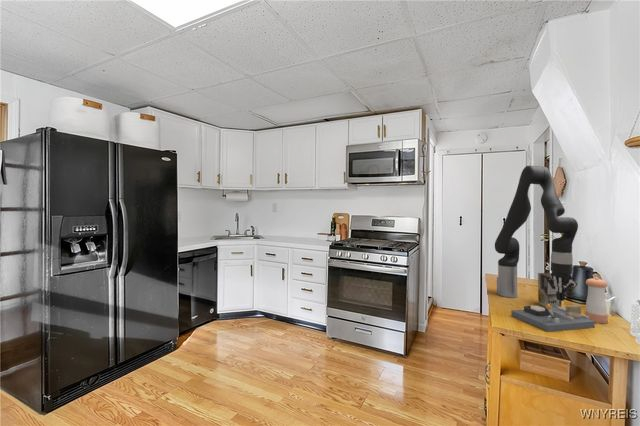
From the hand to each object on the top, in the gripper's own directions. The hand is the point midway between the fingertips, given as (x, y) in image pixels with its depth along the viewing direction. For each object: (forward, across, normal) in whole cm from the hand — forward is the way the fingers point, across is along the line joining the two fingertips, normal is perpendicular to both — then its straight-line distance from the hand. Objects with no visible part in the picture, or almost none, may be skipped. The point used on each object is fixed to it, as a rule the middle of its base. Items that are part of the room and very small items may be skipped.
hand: (560, 300), depth 131 cm
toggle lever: (+4, -8, +12) cm, 15 cm away
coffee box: (+9, +16, -12) cm, 22 cm away
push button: (+6, +2, +9) cm, 11 cm away
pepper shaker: (+9, -4, -14) cm, 17 cm away
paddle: (+6, -6, 0) cm, 8 cm away
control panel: (+8, -2, +7) cm, 11 cm away
